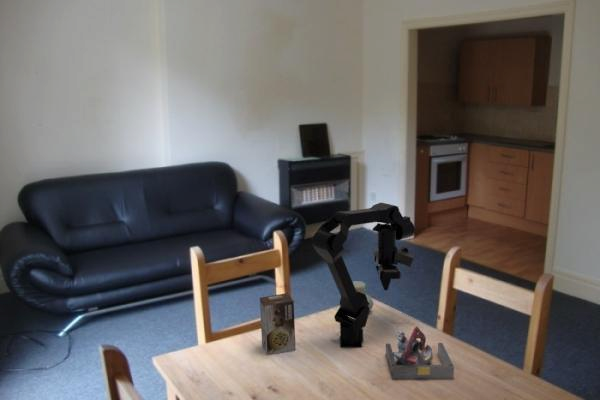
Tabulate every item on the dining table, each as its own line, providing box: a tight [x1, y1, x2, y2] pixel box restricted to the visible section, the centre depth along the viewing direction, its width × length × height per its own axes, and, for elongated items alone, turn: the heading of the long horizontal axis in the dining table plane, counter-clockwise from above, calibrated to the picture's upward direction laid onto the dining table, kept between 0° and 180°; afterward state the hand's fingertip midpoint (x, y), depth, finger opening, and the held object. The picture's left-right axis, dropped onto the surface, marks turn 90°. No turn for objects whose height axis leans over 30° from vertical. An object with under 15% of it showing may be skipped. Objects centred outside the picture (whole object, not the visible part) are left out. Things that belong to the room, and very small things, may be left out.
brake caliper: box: [392, 325, 434, 365], centre depth 161 cm, size 11×11×12 cm
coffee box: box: [259, 292, 297, 356], centre depth 169 cm, size 9×6×16 cm
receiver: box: [385, 342, 455, 380], centre depth 158 cm, size 16×14×4 cm
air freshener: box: [352, 280, 374, 312], centre depth 194 cm, size 11×8×10 cm
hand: (385, 289), depth 179 cm, fingers closed
